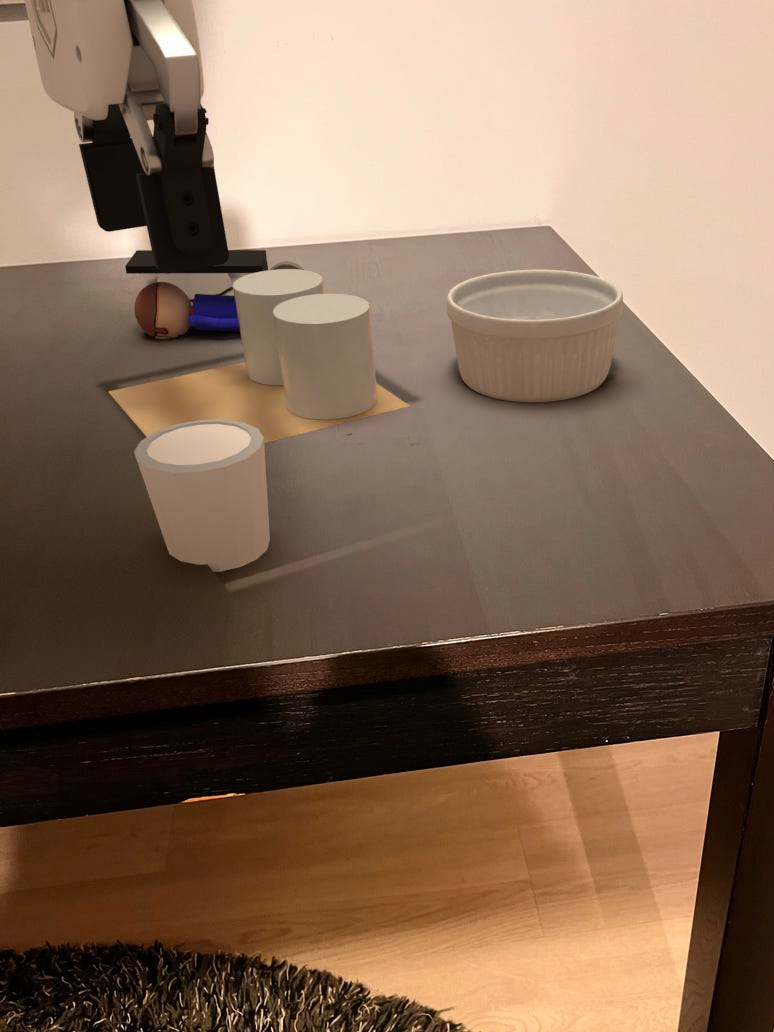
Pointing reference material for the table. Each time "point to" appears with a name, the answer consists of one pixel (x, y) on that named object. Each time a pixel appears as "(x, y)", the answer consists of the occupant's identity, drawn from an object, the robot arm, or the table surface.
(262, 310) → the white tall rear cylinder
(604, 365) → the ramekin
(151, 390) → the board
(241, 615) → the table surface
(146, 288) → the figurine character
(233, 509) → the white tapered cup
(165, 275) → the flask
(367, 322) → the white front cylinder
